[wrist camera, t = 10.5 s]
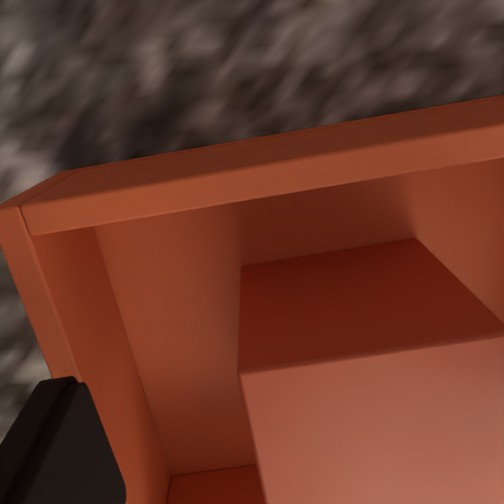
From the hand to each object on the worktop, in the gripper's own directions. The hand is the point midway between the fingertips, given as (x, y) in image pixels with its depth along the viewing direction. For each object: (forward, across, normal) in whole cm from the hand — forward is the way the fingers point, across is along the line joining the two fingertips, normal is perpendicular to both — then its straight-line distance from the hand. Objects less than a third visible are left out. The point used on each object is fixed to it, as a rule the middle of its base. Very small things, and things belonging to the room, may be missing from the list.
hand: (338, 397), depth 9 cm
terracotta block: (+4, -1, +1) cm, 4 cm away
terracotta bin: (+4, 0, +1) cm, 4 cm away
